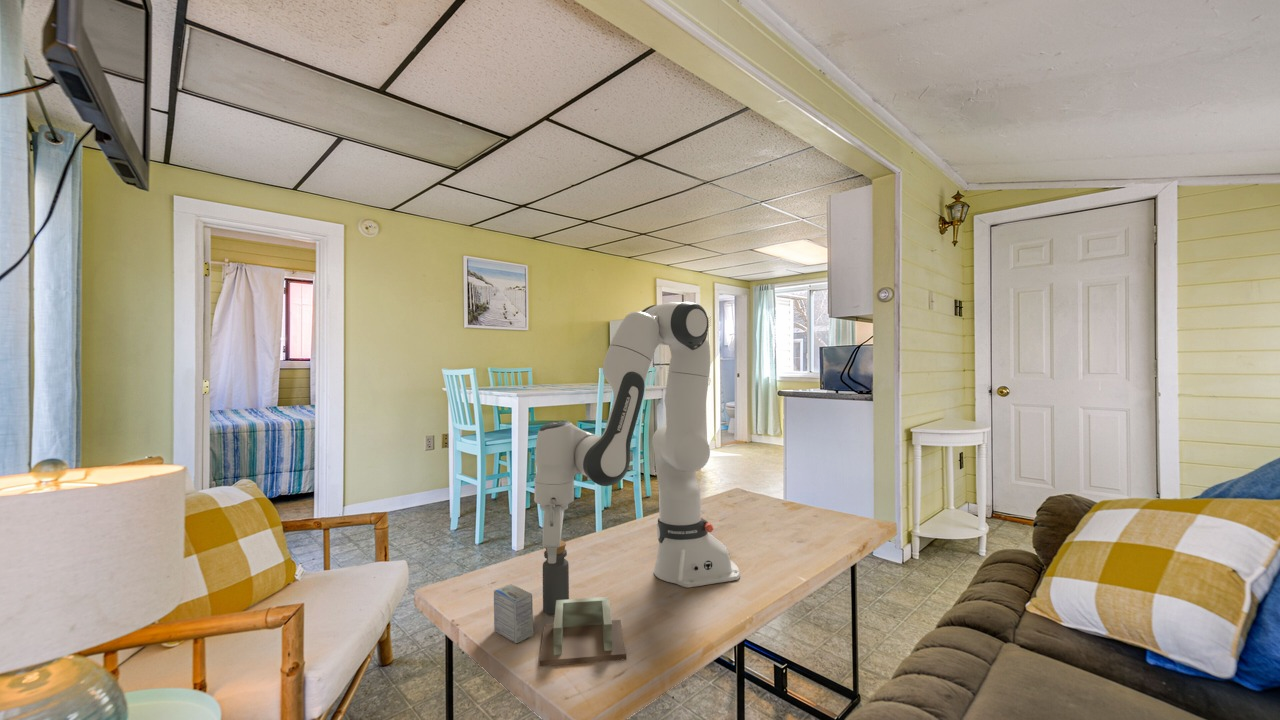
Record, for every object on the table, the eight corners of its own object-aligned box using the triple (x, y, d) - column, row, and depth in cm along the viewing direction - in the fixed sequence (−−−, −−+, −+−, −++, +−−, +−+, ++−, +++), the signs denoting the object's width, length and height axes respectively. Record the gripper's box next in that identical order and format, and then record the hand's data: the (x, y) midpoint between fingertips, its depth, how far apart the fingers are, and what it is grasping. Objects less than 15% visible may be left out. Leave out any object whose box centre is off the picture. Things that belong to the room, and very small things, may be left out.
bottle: (563, 617, 111) (563, 548, 111) (538, 615, 112) (538, 547, 112) (572, 604, 117) (571, 539, 117) (548, 602, 118) (548, 538, 118)
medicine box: (533, 635, 103) (533, 593, 103) (515, 645, 100) (515, 601, 100) (511, 623, 109) (511, 582, 109) (493, 631, 105) (493, 589, 105)
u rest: (620, 624, 108) (620, 595, 108) (626, 659, 95) (625, 627, 95) (544, 629, 106) (544, 601, 106) (539, 666, 93) (539, 633, 93)
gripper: (567, 505, 105) (566, 572, 104) (569, 483, 125) (568, 539, 125) (536, 505, 104) (535, 573, 103) (543, 483, 124) (542, 539, 124)
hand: (553, 554), depth 114 cm, fingers open, 8 cm apart
